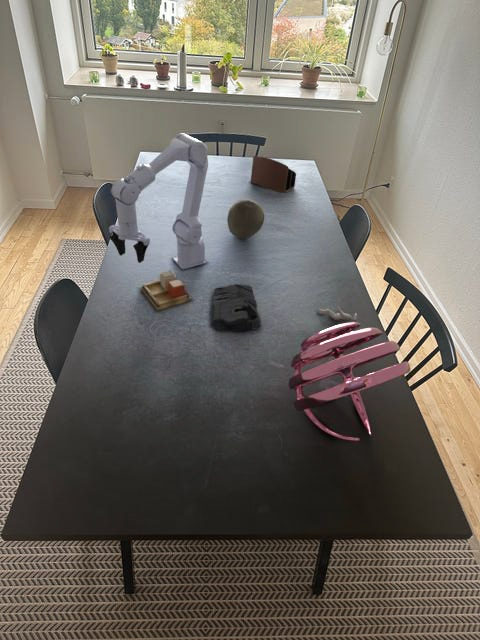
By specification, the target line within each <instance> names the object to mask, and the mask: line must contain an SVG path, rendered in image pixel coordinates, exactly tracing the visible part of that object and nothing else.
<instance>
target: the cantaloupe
mask: <svg viewBox="0 0 480 640" xmlns="http://www.w3.org/2000/svg"><path fill="white" fill-rule="evenodd" d="M226 220H227V221H226V223H227V227H228V230H229V232H230V234H231V235H233V236H234V237H235V238H237V239H249V238H251V237H253V236H255V235H256V234H257V233H258V232H259V231H260V230H261V229H262V227H263V225H264V222H265V212H264V210H263V208H262V206H261V205H260V204H259V203H258V202H256V201H254V200H252V199H249V198H243V199H239V200H238V201H236V202H234V203H233V205H232V206H231V207H230V208H229V210H228V213H227V219H226Z"/></svg>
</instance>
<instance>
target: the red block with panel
mask: <svg viewBox="0 0 480 640" xmlns="http://www.w3.org/2000/svg"><path fill="white" fill-rule="evenodd" d="M184 290H185V284H183V282H182V281H181V280H180V279H176V280H174V281H171V282H168V294H169V295H170V296H171V298H172V299H173V298H176V297H180V296H183V295H185V292H184Z"/></svg>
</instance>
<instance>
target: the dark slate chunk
mask: <svg viewBox="0 0 480 640" xmlns="http://www.w3.org/2000/svg"><path fill="white" fill-rule="evenodd" d="M211 306H212V307H211V318H210V321H211V322H210V323H211V326H212V327H215V330H216V331H221V332H226V331H229V332H230V331H231V332H247V331H252V330H255V329H260V328H261V326H262V323H261V322H262V321H261V318H260V314H259V310H258V304H257V301H256V297H255V294H254V289H253V286H251V284H249V285H248V284H239V283H235V284H228V285H224V286H219V287H215V288H214V291H213V297H212V305H211ZM251 319H254V320H251Z"/></svg>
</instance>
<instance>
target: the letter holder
mask: <svg viewBox="0 0 480 640" xmlns="http://www.w3.org/2000/svg"><path fill="white" fill-rule="evenodd" d="M296 178H297V173H296V172H295V171H294V170H292V169H291V168H289V165H286V164H284V163H282V162H280V161H278V160H275V159H272V158H268V157H265V156H259V155H254V156H253V157H252V165H251V174H250V183H251V184H254V185H257V186H261V187H263V188H266V189H269V190H272V191H274V192H277V193H280V194H283V195H285V194H287V193H288V192H290V191H291V190H293V189H294V188H295V186H296Z"/></svg>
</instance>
